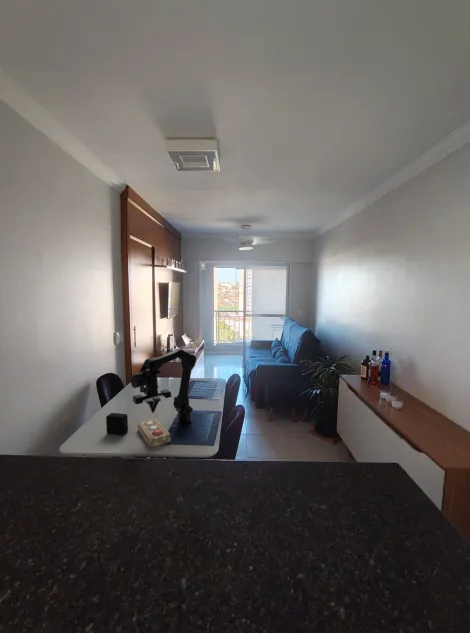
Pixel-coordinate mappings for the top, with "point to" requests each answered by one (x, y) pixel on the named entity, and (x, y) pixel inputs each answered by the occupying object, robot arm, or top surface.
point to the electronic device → (117, 424)
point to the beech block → (148, 434)
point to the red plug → (157, 432)
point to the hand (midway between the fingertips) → (152, 412)
